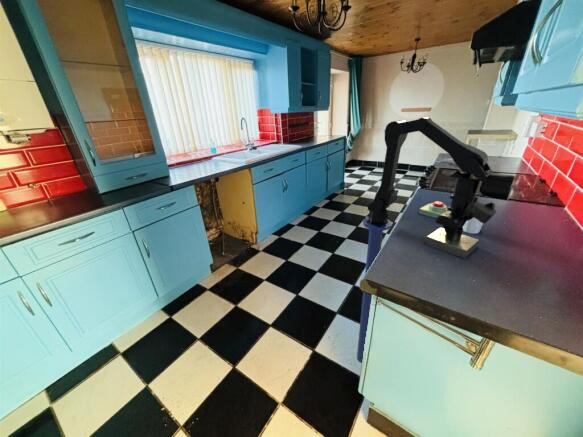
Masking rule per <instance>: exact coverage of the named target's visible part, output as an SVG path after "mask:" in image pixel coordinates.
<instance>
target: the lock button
mask: <svg viewBox="0 0 583 437" xmlns="http://www.w3.org/2000/svg"><path fill="white" fill-rule="evenodd" d="M433 203H434V204H433V206H434V207H439V208H441V207H443V204H444V202H442V201H438V200H436V201H434V202H433ZM444 205H445V204H444Z"/></svg>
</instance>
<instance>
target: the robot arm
mask: <svg viewBox="0 0 583 437" xmlns="http://www.w3.org/2000/svg"><path fill="white" fill-rule="evenodd" d="M415 132H420V133H421V134H422V135H423V136H425V137H427V139H429V140H430V141H431V142H433V143H434V144H435V145H437V146H438V147H439V148H441V149H442V150H443V151H445V152H446V153H447V154H448V155H449V156H450V157H451V159H452V160H453V162H454V163H455V165H456V166H457V167H458V169H456V171H455V172H453V173H451V174H449V177H450V178H452V179H456V181H455V185H454V188H453V189H454V190H453V193H452V194H450V196H449V199H450V200H451V202H450V205H449V206H447V211H451V213H447V212H444V213H442V214H440V215H439V216H437V217H436V218H435V223H436V224H438V225H441V226H443V229H445V232H446V235H447V238H448V239H450V240H451V239H452V238H453V236H454V234H455V232H456V230H457V229H458V228H459V227H463V226H464V224H465V223H466V221H468V220H470V219H472V218H476V219H478V220H479V221H480V222H481V223H483V224H486V223H488V221H490V220H491V219H492V217H494V215H495V214H496V213H497V209H496V203H494V202H492V201H489V202H486V203H484V202H479V197H478V195H477V193H478V192H479V193H480V195H482V197H485V198H490V199H496V200H502V201H508V200H509V198H510V196H511V192H512V190H513V188H514V182H515V179H516V175H515V174H514V175H513V174H499V173H498V174H497V173H493V170H492V168H491V166H490V165H489V163H488V160H489V159H488V158H489V157H488V154H487V153H486V152H485V151H484V150H482V149H480V148H478V147H475V146H473V145H470V144H467V143H464V142H463V141H462V140H461V141H460V139H458V138H457V137H455V136H454V135H452V134H451V133H450V132H449V131H447V130H446V129H445V128H443V127H441V126H440V125H439V124H437V123H436V122H435V121H433V119H432V118H431V117H429V116H425V117H420V118H418V119H413V120H409V121H406V120H404V119H400V120H394V121H391V122H388V124H386V125H385V127H384V142H385V143H384V144H385V146H386V151H385V156H384V161H383V167H382V168H383V169H382V175H381V182H380V186H379V187H378V189H377V191H376V192H375V196H374V199H373V201H372V202H371V203H369V204H367V211H369V215H368V217H369V220H367V221H366V222H367V223H370V224H373V225H375V226H378V227H380V226H382V225H384V224H386V223H388V221H387V219H388V220H389V213H388V209H389V208H390V206H391V205H393V204H394V203H395V202H396V201H397V200H398V194H399V189H396V188H395V180H396V175H397V170H398V165H399V159H400V154H401V149H402V147H403V145H404V144H405V142H406V140H407V137H408V135H409V134H410V133H411V134H412V133H415Z"/></svg>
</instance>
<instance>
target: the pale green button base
mask: <svg viewBox="0 0 583 437" xmlns="http://www.w3.org/2000/svg"><path fill="white" fill-rule="evenodd" d="M433 204H434V202H431V203H428V204H425V205H424V206H422V207H419V210H418V214H420V215H423V216H427V217H430V218H434V219H436V217H437V216H439V215H440V214H442V213H444V212H447V213H451V211H447V208H448V206H447V205H446V204H443V207H441V208H439V207H434V206H433Z"/></svg>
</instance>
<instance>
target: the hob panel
mask: <svg viewBox="0 0 583 437" xmlns="http://www.w3.org/2000/svg"><path fill="white" fill-rule="evenodd" d="M445 234H446V232H445V229H444V227H439V228H437V229H436V230H435V231H433V232H432V233H430V234H429V235H427V236H426V240H425V245H427V246H430V247H433V248H435V249H438V250H439V251H443V252H446V253H448V254H450V255H454V256H456V257H458V258H462V259H465V258H467V257H468V256H469V255H470V254H471V253H473V251H474V250H475V249H476V248H478V244H479V241H480V239H478V238H475V237H473V236H472V237H471V236H469V235H465V234H462V236H461V239H460V240H459V241H451V240H448V239H447V238H445Z"/></svg>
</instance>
